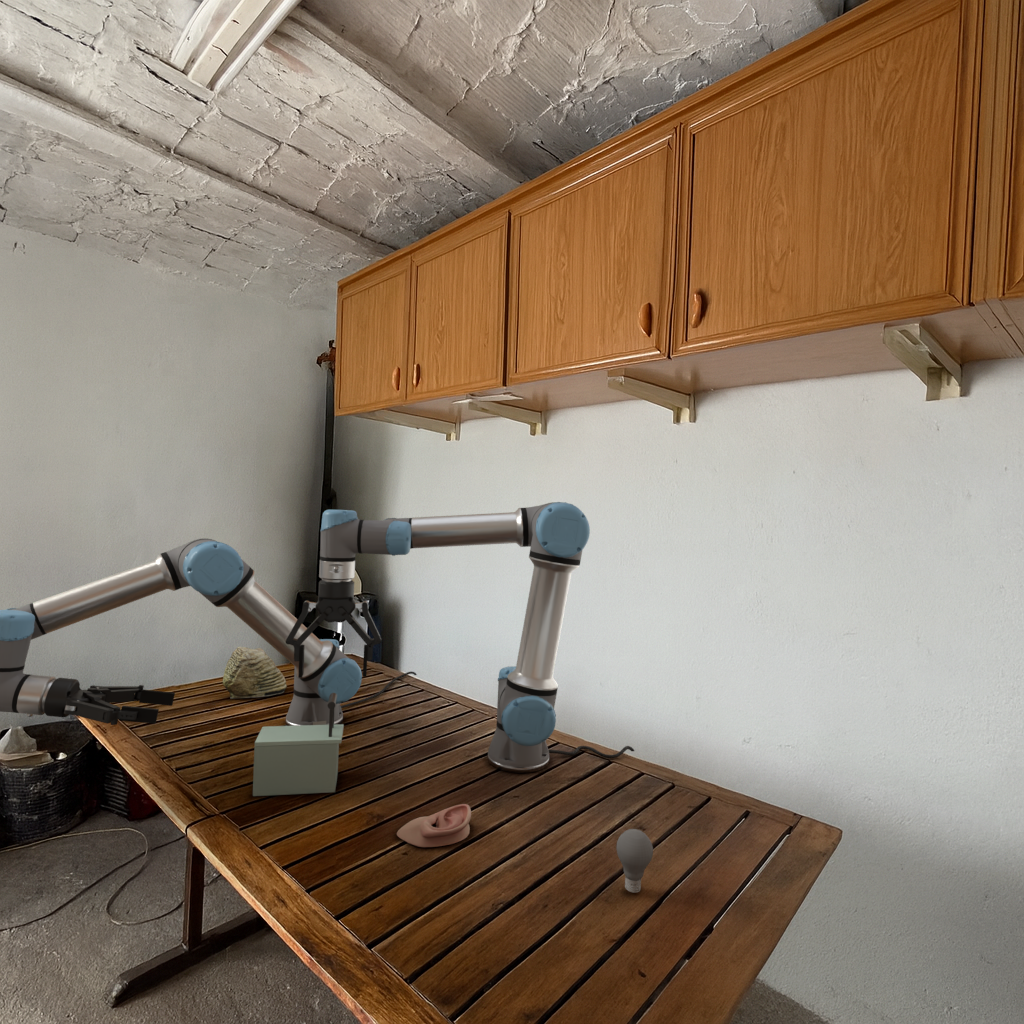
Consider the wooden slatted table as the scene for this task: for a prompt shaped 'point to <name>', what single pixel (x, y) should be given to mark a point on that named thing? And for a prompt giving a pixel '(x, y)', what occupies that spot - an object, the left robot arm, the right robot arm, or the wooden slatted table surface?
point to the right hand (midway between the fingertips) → (333, 675)
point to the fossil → (252, 674)
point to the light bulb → (634, 857)
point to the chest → (295, 769)
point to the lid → (303, 732)
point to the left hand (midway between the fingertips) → (165, 707)
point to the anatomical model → (438, 827)
